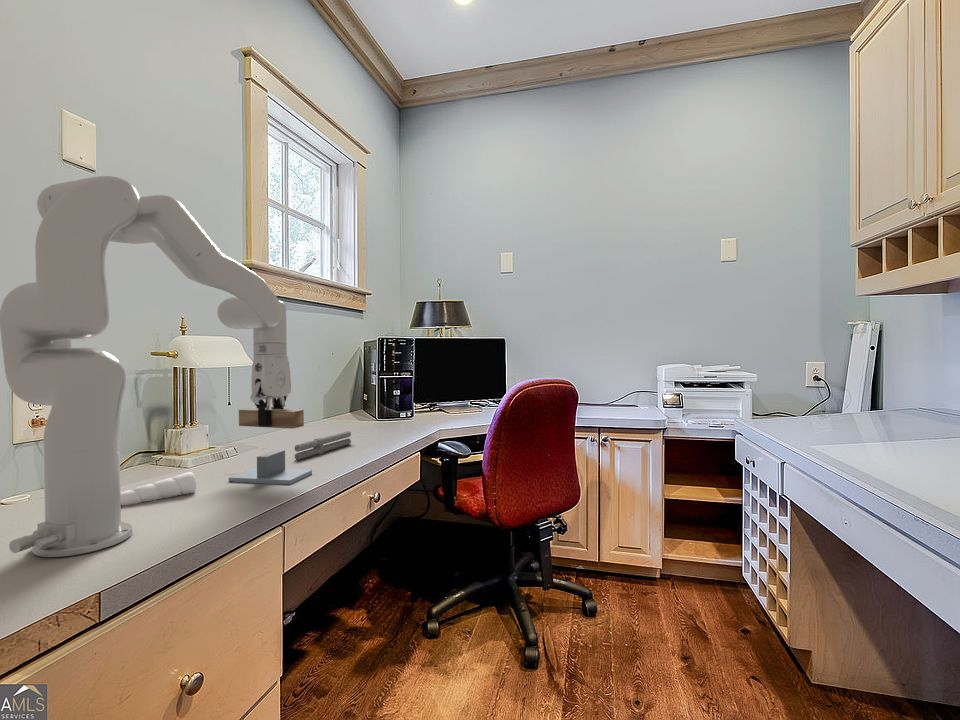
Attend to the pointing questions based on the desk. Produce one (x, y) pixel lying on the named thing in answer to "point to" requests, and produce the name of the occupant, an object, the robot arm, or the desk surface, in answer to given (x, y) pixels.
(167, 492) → the unicorn horn
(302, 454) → the metal rod assembly
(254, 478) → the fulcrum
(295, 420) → the walnut bar
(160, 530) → the desk surface
